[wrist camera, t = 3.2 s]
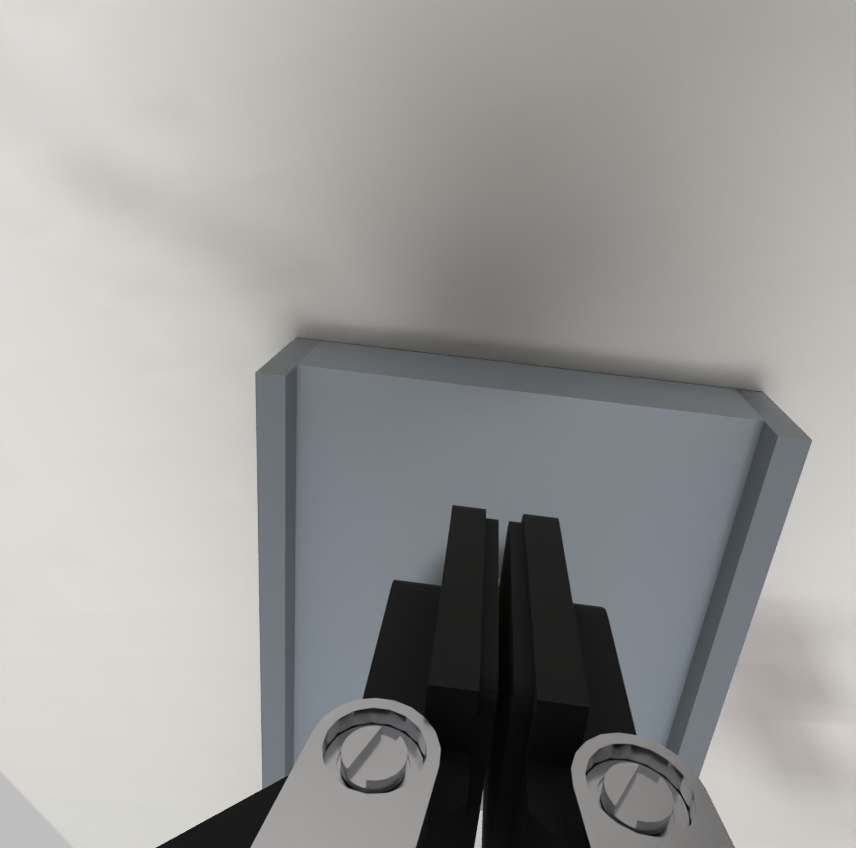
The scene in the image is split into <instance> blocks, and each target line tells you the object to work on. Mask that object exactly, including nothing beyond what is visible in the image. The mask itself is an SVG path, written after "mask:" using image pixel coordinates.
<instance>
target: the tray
mask: <svg viewBox="0 0 856 848" xmlns="http://www.w3.org/2000/svg"><path fill="white" fill-rule="evenodd" d="M255 375H256V435H257V494H258V553H259V613H260V672H261V732H262V789H264V788H266V787H268V786H270V785H271V784H273V783H275V782H277V781H279V780H281V779H282V778H284V777H286V776H288V775H289V774H290V772H291V771H292V769H293V767H294V765H295V763H296V761H297V759H298V757H299V756H300V754H301V752H302V750H303V748H304V746H305V744H306V742H307V741H308V739H309V737H310V735H311V733H312V731H313V730H314V728H315V727H316V726H317V724H318V723H319V722H320V721H321V719H322V718H323V717H324V716H325V715H327V714H328V713H329V712H331V711H332V710H334V709H335V708H337V707H338V706H340V705H343V704H346V703H349V702H352V701H354V700H359V699H363V695H364V691H365V687H366V683H367V679H368V675H369V671H370V667H371V663H372V660H373V656H374V652H375V648H376V644H377V640H378V636H379V632H380V628H381V624H382V621H383V617H384V613H385V609H386V605H387V601H388V597H389V593H390V589H391V586H392V582H393V580H402V581H409V582H417V583H425V584H432V585H440V586H441V585H442V577H443V570H444V563H445V556H446V548H447V541H448V534H449V527H450V519H451V512H452V505H457V506H465V507H474V508H482V509H486V518H489V519H497V520H499V579H500V575H501V568H502V561H503V555H504V548H505V541H506V534H507V528H508V523H509V521H513V522H521V520H522V516H523V514H530V515H538V516H546V517H554V518H558V519H559V523H560V529H561V535H562V541H563V547H564V553H565V559H566V565H567V571H568V577H569V583H570V589H571V595H572V601H573V603H576V604H584V605H592V606H599V607H603V608H605V609H606V612H607V615H608V618H609V622H610V626H611V631H612V635H613V639H614V643H615V647H616V651H617V656H618V660H619V664H620V668H621V672H622V676H623V681H624V685H625V689H626V693H627V697H628V701H629V706H630V710H631V714H632V718H633V722H634V726H635V730H636V735H638V736H641V737H644V738H646V739H649V740H651V741H654V742H657V743H659V744H661V745H662V746H664V747H665V748H667V749H669V750H670V751H672V752H673V753H675V754H677V755H678V756H679V757H680V758H681V759H682V760H683V761H684V762H685V763H686V764H687V765H688V766H689V767H690V768H692V769H693V770H694V772H695V773H696V775H697V776H698V778H699V775H700V772H701V769H702V766H703V763H704V760H705V757H706V754H707V751H708V748H709V745H710V742H711V739H712V736H713V733H714V730H715V727H716V724H717V721H718V718H719V715H720V712H721V709H722V706H723V703H724V700H725V697H726V695H727V692H728V689H729V686H730V683H731V680H732V677H733V674H734V671H735V668H736V665H737V662H738V659H739V656H740V653H741V650H742V647H743V644H744V641H745V638H746V635H747V632H748V629H749V626H750V623H751V620H752V617H753V614H754V611H755V608H756V605H757V602H758V599H759V596H760V593H761V591H762V588H763V585H764V582H765V579H766V576H767V573H768V570H769V567H770V564H771V561H772V558H773V555H774V552H775V549H776V546H777V543H778V540H779V537H780V534H781V531H782V528H783V525H784V522H785V519H786V516H787V513H788V510H789V507H790V504H791V501H792V498H793V495H794V492H795V489H796V486H797V484H798V481H799V478H800V475H801V472H802V469H803V466H804V463H805V460H806V457H807V454H808V451H809V448H810V445H811V442H812V440H811V439H810V438H809V437H808V436H807V435H806V434H805V433H804V432H803V431H802V430H801V429H800V428H799V427H798V426H797V425H796V424H795V423H794V422H793V421H792V420H791V419H790V418H789V417H788V416H787V415H786V414H785V413H784V412H783V411H782V410H781V409H780V408H779V407H778V406H777V405H776V404H775V403H774V402H773V401H772V400H771V399H770V398H769V397H768V396H767V395H766V394H765V393H764V392H757V391H748V390H740V389H731V388H723V387H714V386H705V385H697V384H688V383H680V382H671V381H663V380H654V379H645V378H637V377H628V376H620V375H611V374H603V373H594V372H585V371H577V370H568V369H560V368H551V367H543V366H534V365H525V364H517V363H508V362H500V361H491V360H482V359H474V358H465V357H457V356H448V355H440V354H431V353H422V352H414V351H405V350H397V349H388V348H380V347H371V346H362V345H354V344H345V343H337V342H328V341H319V340H311V339H302V338H295V339H294V340H293V341H292V342H290V343H289V344H288V345H287V346H286V347H285V348H283V349H282V350H281V351H280V352H279V353H278V354H277V355H275V356H274V357H273V358H272V359H271V360H270V361H268V362H267V363H266V364H265V365H264V366H263V367H261V368H260V369H259V370H258V371H257V372H256V373H255ZM480 810H483V794H482V800H481V807H480Z"/></svg>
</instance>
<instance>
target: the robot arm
mask: <svg viewBox="0 0 856 848" xmlns="http://www.w3.org/2000/svg"><path fill="white" fill-rule="evenodd" d="M482 794H483V821H482V848H735V847H734V845H733V843H732V841H731V839H730V837H729V835H728V833H727V831H726V829H725V827H724V825H723V823H722V821H721V819H720V817H719V815H718V813H717V811H716V809H715V807H714V805H713V803H712V801H711V799H710V797H709V795H708V793H707V791H706V789H705V787H704V785H703V784H702V782H701V781H700V779H699V778H698V776H697V775H696V773H695V772H694V770H693V769H692V768H690V767H689V766H688V765H687V764H686V763H685V762H684V761H683V760H682V759H681V758H680V757H679V756H678V755H677V754H675V753H673V752H672V751H670V750H669V749H667V748H665V747H664V746H662V745H661V744H659V743H657V742H654V741H651V740H649V739H646V738H644V737H641V736H638V735H636V730H635V726H634V722H633V718H632V714H631V710H630V706H629V701H628V697H627V693H626V689H625V685H624V681H623V676H622V672H621V668H620V664H619V660H618V656H617V651H616V647H615V643H614V639H613V635H612V631H611V626H610V622H609V618H608V615H607V612H606V609H605V608H603V607H599V606H592V605H584V604H576V603H573V601H572V595H571V589H570V583H569V577H568V571H567V565H566V559H565V553H564V547H563V541H562V535H561V529H560V523H559V519H558V518H554V517H546V516H538V515H530V514H523V516H522V520H521V522H513V521H509V523H508V528H507V534H506V541H505V548H504V555H503V561H502V568H501V575H500V581H499V520H497V519H489V518H486V509H482V508H474V507H465V506H457V505H452V512H451V519H450V527H449V534H448V541H447V548H446V556H445V563H444V570H443V577H442V585H441V586H440V585H432V584H425V583H417V582H409V581H402V580H393V582H392V586H391V589H390V593H389V597H388V601H387V605H386V609H385V613H384V617H383V621H382V624H381V628H380V632H379V636H378V640H377V644H376V648H375V652H374V656H373V660H372V663H371V667H370V671H369V675H368V679H367V683H366V687H365V691H364V695H363V699H359V700H354V701H352V702H349V703H346V704H343V705H340V706H338V707H337V708H335V709H334V710H332V711H331V712H329V713H328V714H327V715H325V716H324V717H323V718H322V719H321V721H320V722H319V723H318V724H317V726H316V727H315V728H314V730H313V731H312V733H311V735H310V737H309V739H308V741H307V742H306V744H305V746H304V748H303V750H302V752H301V754H300V756H299V757H298V759H297V761H296V763H295V765H294V767H293V769H292V771H291V772H290V774H289V775H288V776H286V777H284V778H282V779H281V780H279V781H277V782H275V783H273V784H271V785H270V786H268V787H266V788H264V789H262V790H260V791H259V792H257V793H255V794H253V795H251V796H250V797H248V798H246V799H244V800H242V801H240V802H239V803H237V804H235V805H233V806H231V807H229V808H228V809H226V810H224V811H222V812H220V813H219V814H217V815H215V816H213V817H211V818H209V819H208V820H206V821H204V822H202V823H200V824H198V825H197V826H195V827H193V828H191V829H189V830H188V831H186V832H184V833H182V834H180V835H178V836H177V837H175V838H173V839H171V840H169V841H167V842H166V843H164V844H162V845H160V846H158V847H156V848H474V844H475V838H476V832H477V825H478V819H479V813H480V807H481V800H482Z"/></svg>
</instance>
